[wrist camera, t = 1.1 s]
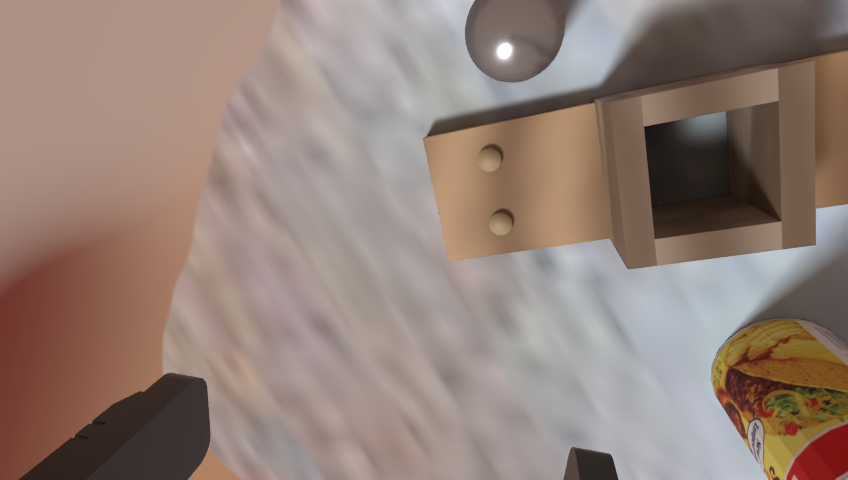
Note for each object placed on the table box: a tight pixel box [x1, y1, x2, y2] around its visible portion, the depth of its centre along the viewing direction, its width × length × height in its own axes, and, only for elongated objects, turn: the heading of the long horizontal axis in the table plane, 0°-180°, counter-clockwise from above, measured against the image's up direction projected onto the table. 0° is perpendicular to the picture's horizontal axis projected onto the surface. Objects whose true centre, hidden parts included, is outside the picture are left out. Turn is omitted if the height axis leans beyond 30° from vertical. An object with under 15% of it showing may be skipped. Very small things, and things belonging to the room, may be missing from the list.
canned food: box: [711, 318, 848, 480], centre depth 26 cm, size 8×8×12 cm
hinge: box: [423, 50, 848, 269], centre depth 26 cm, size 28×8×6 cm, turn 102°
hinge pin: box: [465, 0, 565, 82], centre depth 25 cm, size 4×4×9 cm
